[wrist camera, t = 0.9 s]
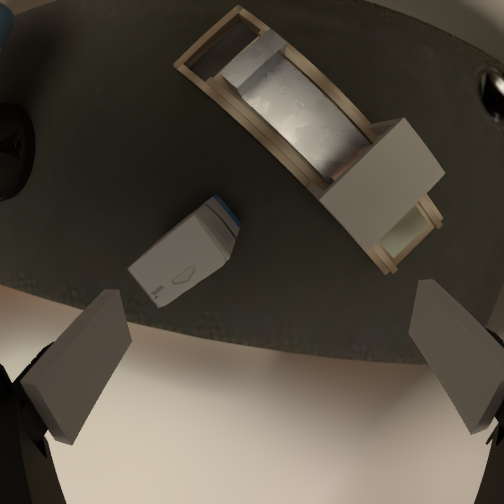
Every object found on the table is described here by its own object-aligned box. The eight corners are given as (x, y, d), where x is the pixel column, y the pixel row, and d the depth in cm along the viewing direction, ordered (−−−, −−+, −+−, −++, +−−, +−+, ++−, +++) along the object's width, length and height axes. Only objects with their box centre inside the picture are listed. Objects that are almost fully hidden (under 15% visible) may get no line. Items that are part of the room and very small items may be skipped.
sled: (228, 87, 29) (219, 73, 23) (269, 49, 27) (270, 28, 21) (351, 208, 32) (368, 221, 26) (390, 171, 30) (413, 176, 25)
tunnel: (305, 187, 32) (319, 199, 24) (371, 124, 29) (404, 117, 21) (343, 227, 33) (366, 252, 25) (406, 166, 30) (445, 173, 22)
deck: (179, 71, 31) (169, 63, 27) (240, 15, 28) (237, 1, 25) (377, 266, 37) (388, 278, 33) (431, 212, 35) (447, 220, 31)
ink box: (217, 191, 35) (194, 211, 24) (243, 225, 37) (232, 259, 25) (163, 234, 37) (123, 269, 26) (188, 265, 38) (159, 311, 27)
